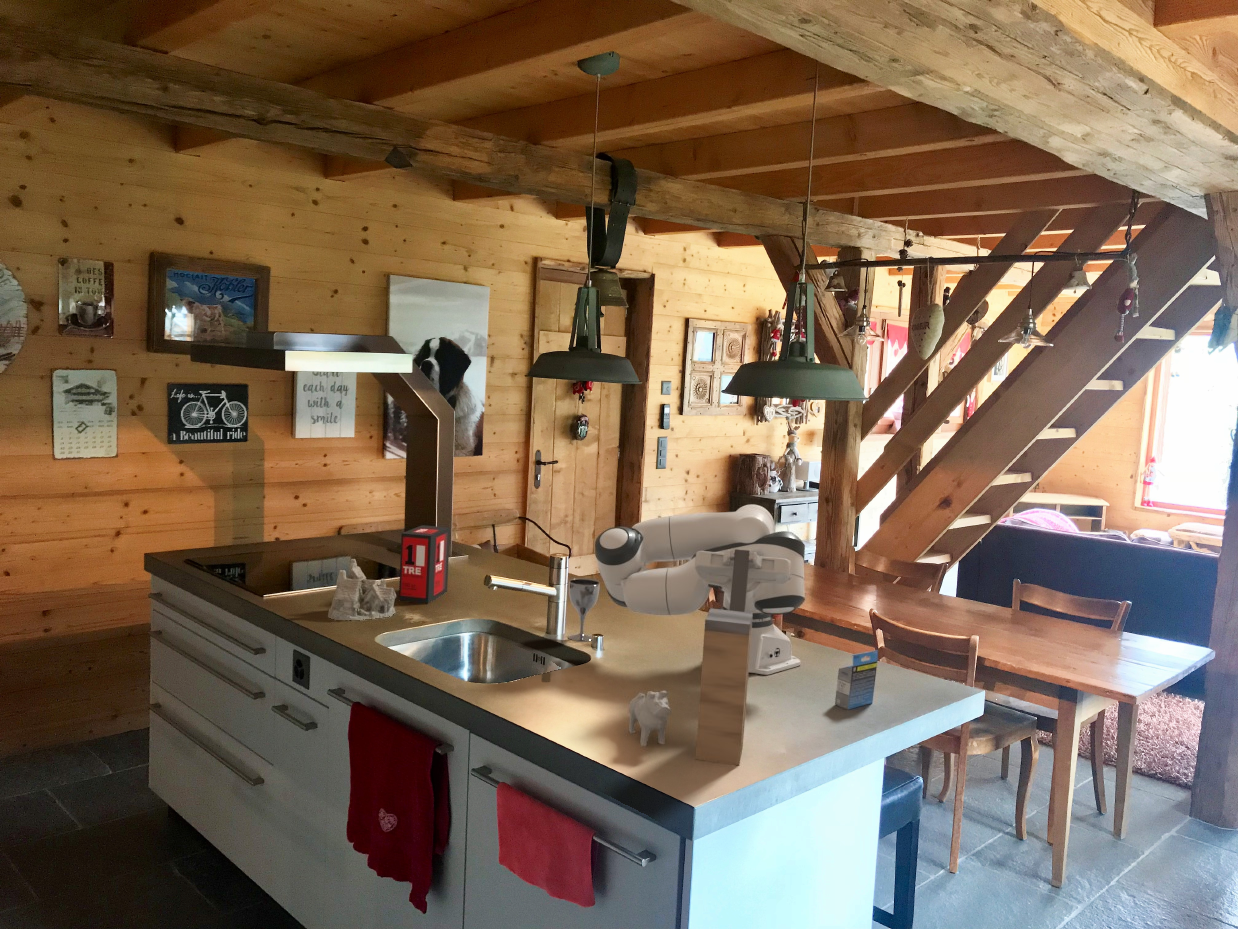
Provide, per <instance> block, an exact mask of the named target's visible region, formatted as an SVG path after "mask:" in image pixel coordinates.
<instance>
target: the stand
mask: <svg viewBox="0 0 1238 929" xmlns="http://www.w3.org/2000/svg"><path fill="white" fill-rule="evenodd" d="M752 618H753V613H749V612H740V611H730V610H721V608H720V609H718V608H712V607H711V608H710V609H709V611H708V612H707V615H706V616H705V619H704V632H703V648H702V660H701V675H700V689H699V690H700V691H699V704H698V715H697V716H698V718H697V728H696V729H697V731H696V732H697V734H696V743H695V744H696V747H695V759H694V760H695V761H696V760H697V761H698V760H699V761H705V762H710V763H711V762H712V763H720V764H727V765H734V766H740V765H741V760H742V753H743V748H744V747H743V746H744V739H745V738H744V737H745V736H744V735H745V725H746V724H745V722H746V711H747V710H746V709H747V696H748V685H749V684H748V683H749V673H750V672H749V658H750V645H751V632H752Z"/></svg>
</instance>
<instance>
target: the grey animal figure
mask: <svg viewBox="0 0 1238 929" xmlns="http://www.w3.org/2000/svg"><path fill="white" fill-rule="evenodd" d="M668 700H669V699H668V693H667V690H661V691H658V692H656V691H655V692H653V691H652V690H650V691H649V690H648V691H647V694H645V693H644V692H639V693H638V694H637V695H636V697H634V698H632V700H630V702H629V705H628V708H629V709H628V710H629V725H628V732H629V733H630V734H635V733H637V731H636V727H635V725H636V723H637V722H638V723H639V724H638V725H639V727H640V729H641V731H640V733H641V734H640V740H639V742H640V743H639V745H640V746H643V747H646V746H648V740H649V736H650V733H651V732H653V731H657V742H658V744H661V745H665V744H666V740H665V737H666V733H665V732H666V728H667V725H668V717H669V716H670V714H671V712H672V709H671V708H670V705H669V701H668Z"/></svg>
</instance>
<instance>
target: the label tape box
mask: <svg viewBox="0 0 1238 929" xmlns="http://www.w3.org/2000/svg"><path fill="white" fill-rule="evenodd" d="M878 650H879V649H877V650H872V651H867V652H860V653H854V654H852V665H849V666H844V667H843V666H842V667H840V668H838V672H837V681H836V682H837V683H836V688H835V691H836V692H835V699H834V700H835V701H834V705H836V706H837V707H840V708H842V709H845V710H847V711H849V710H852V709H856V708H858V707H862V706H867V705H869V704H870V705H871V704H873V701H874V692H875V685H876V677H877V667H878V654H879V653H878V652H879V651H878ZM864 658H869V659H867V660H862V659H864Z"/></svg>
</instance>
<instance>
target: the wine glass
mask: <svg viewBox="0 0 1238 929" xmlns="http://www.w3.org/2000/svg"><path fill="white" fill-rule="evenodd" d="M568 582H569V583H568V595H569V600H570V603H571V605H572V606H573V607H574V609H575V610H576V612H577V613H578V615H579V621H580V622H579V625H580V629H579V633H575V634H574V633H573V634H569V635H567V639H568V638H569V639H568V640H570V639H572V640H571V641H573V640H574V642H580V641H581V643H582V642H583V643H584V642H586V641H587V642H592V641H591V639H592V636H593V635H589V634H586V633H585V632H584V625H585V624H584V623H585V619H586V616H587V614H588V613H589V611H591V609H592V608H593V607H595V605H596V604H597V602H598V598H599V595H600V594H599V592H600V588H601V587H600V585H601V583H600V581H599V580H597V579H593V578H584V577H582V578H581V577H580V578H579V577H577V578H571V579H569V581H568Z"/></svg>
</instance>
